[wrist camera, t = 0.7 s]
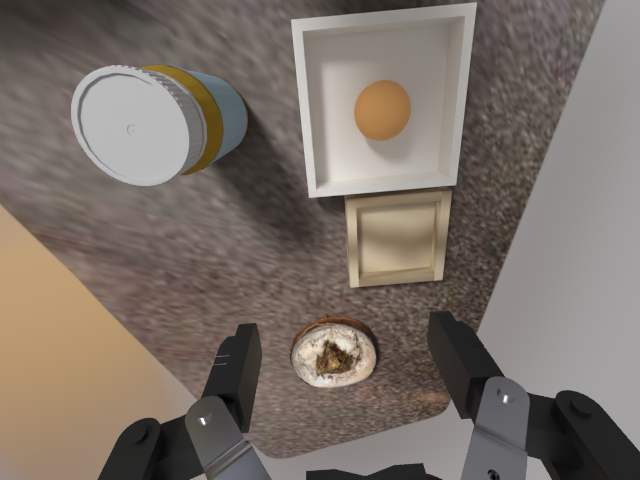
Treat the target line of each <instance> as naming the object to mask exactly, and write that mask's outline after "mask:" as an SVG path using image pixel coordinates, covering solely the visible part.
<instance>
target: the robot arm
mask: <svg viewBox="0 0 640 480" xmlns="http://www.w3.org/2000/svg"><path fill="white" fill-rule="evenodd" d="M427 342H428V347H429V350H430V352H431V355H432V357H433V359H434V361H435V363H436V365H437V368H438V370H439V372H440V374H441V376H442V378H443V381H444V383H445V385H446V387H447V389H448V391H449V394H450V396H451V398H452V400H453V402H454V404H455V407H456V409H457V411H458V413H459V415H460V417H461V419H467V418H468V419H469V418H471V419H472V421H473V423H474V429H473V433H472V437H471V441H470V445H469V449H468V453H467V457H466V460H465V464H464V468H463V472H462V476H461V480H525V478H526V467H527V456H530V457H534V458H537V459H541V461H542V462H543V465H544V466H545V468H546V470H547V472H548V473H549V475H550V477H551V479H552V480H640V452H639V450H638V449H637V448H636V447H635V446H634V445H633V443H632V442H631V441H630V440H629V439H628V438H627V436H626V435H625V434H624V433H623V432H622V431H621V429H620V428H619V427H618V426H617V425H616V424H615V422H614V421H613V420H612V419H611V418H610V417H609V415H608V414H607V413H606V412H605V411H604V410H603V408H602V407H601V406H600V405H599V404H597V403H596V402H595V401H594V400H592V399H591V398H589V397H588V396H585V395H584V394H581V393H579V392H575V391H570V390H564V391H561V392H559V393H558V394H557V395H556V398H555V399H554V398H549V397H544V396H539V395H534V394H531V393H528V392H526V391H525V390H524V389H523V387H521V386H520V385H519V384H518V383H516V382H515V381H513V380H511V379H508V378H506V377H505V376H504V375H503V373H502V372H501V370H500V369H499V367H498V366H497V364H496V363H495V362H494V360H493V358H492V357H491V355H490V354H489V353H488V351H487V350H486V348H484V345H483V344H482V342H481V341H480V340H479V338H478V336H477V335H476V334H475V332H474V331H473V329H472V328H470V327H469V326H468V325H467V324H465V323H464V322H463V321H457V322H456V320H455V319H454V317H453V316H452V314H451V313H450V311H448V310H447V311H432V312H431V313H430V318H429V326H428V334H427ZM261 360H262V349H261V343H260V338H259V333H258V329H257V325H256V323H250V324H239V326H238V328H237V332H236V335H235V336H231V337H227V338H226V339H225V340H224V341H223V343H222V344H221V345H220V347H219V350H218V352H217V355H216V358H215V361H214V365H213V366H212V369H211V372H210V375H209V378H208V380H207V383H206V386H205V389H204V392H203V394H202V397H201V399H200V400H198V401H197V402H195V403H194V404H193V405H192V406H191V407H190V409H189V410H188V412H187V414H185V415H184V416H181V417H179V418H176V419H174V420H171V421H168V422H165V423H163V424H159V422H158V421H157V420H156V419H154V418H144V419H141V420H138V421H136V422H134V423H133V424H131V425H130V426H129V427H128V428H126V429H125V430H124V431H123V432H122V434H121V435H120V436H119V438H118V440H117V442H116V444H115V446H114V448H113V450H112V452H111V454H110V456H109V458H108V460H107V462H106V464H105V466H104V468H103V470H102V472H101V474H100V476H99V478H98V480H190V479H192V478H194V477H196V476H199V475H201V474H203V473H205V475H206V477H207V480H271V478H270V476H269V474H268V473H267V471H266V469H265V468H264V466H263V464H262V462H261V461H260V459H259V457H258V456H257V454H256V452H255V450H254V449H253V447H252V445H251V444H250V442H249V441H246V440H245V438H244V437H243V435H242V433H248V432H249V426H250V421H251V415H252V410H253V404H254V399H255V394H256V388H257V383H258V377H259V372H260V366H261ZM306 480H442V479H440V478H438V477H435V476H433V475H430V474H426V472H425V468H424V465H423V463H420V464H405V465H394V466H391V467H389V468H386V469H383V470H381V471H378V472H376V473H373V474H371V475H368V476H362V475H358V474H353V473H349V472H345V471H340V470H336V469H331V470H316V471H306Z"/></svg>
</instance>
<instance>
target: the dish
mask: <svg viewBox="0 0 640 480" xmlns="http://www.w3.org/2000/svg"><path fill="white" fill-rule="evenodd" d="M476 6H477V2H474V3H464V4H453V5H442V6H432V7H421V8H411V9H400V10H390V11H379V12H369V13H358V14H347V15H337V16H326V17H316V18H305V19H295V20H291V24H292V34H293V44H294V54H295V64H296V74H297V83H298V93H299V103H300V113H301V123H302V133H303V143H304V152H305V162H306V172H307V182H308V192H309V198H314V197H325V196H337V195H348V194H360V193H371V192H383V191H394V190H406V189H417V188H429V187H440V186H452V185H456V182H457V174H458V165H459V156H460V147H461V138H462V129H463V121H464V112H465V103H466V94H467V85H468V76H469V68H470V59H471V50H472V41H473V32H474V23H475V15H476ZM381 80H388V81H393V82H395V83H397V84H399V85H400V86H402V87H403V88H404V90H405V91H406V92H407V94H408V96H409V99H410V103H411V114H410V118H409V121H408V123H407V125H406V126H405V128H404V129H403V130H402V131H401V132H400V133H399V134H398V135H397V136H395V137H393V138H391V139H389V140H384V141H376V140H372V139H370V138H368V137H366V136H365V135H363V134H362V133H361V132H360V130H359V129H358V127H357V125H356V122H355V118H354V108H355V103H356V101H357V98H358V96H359V95H360V93H361V92H362V91H363V90H364V89H365V88H366V87H367V86H369V85H370V84H372V83H374V82H377V81H381Z"/></svg>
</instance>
